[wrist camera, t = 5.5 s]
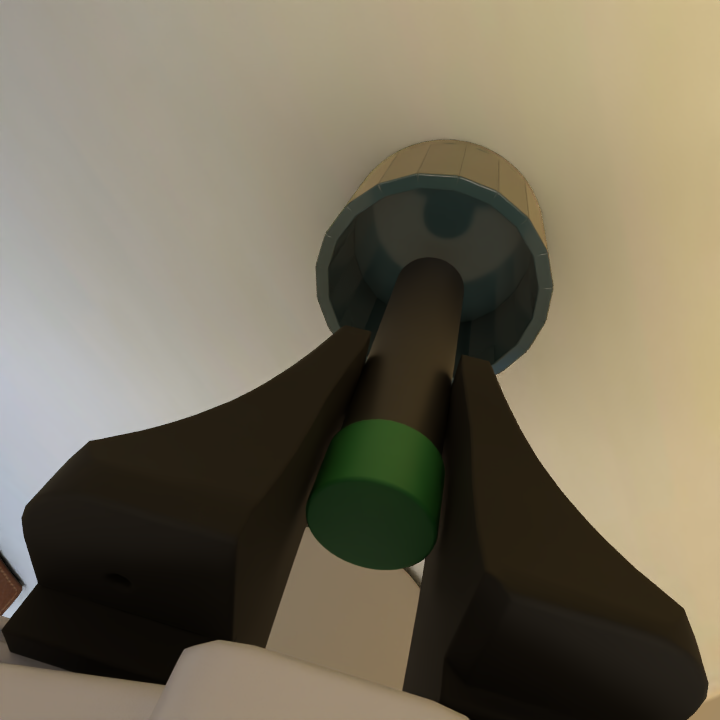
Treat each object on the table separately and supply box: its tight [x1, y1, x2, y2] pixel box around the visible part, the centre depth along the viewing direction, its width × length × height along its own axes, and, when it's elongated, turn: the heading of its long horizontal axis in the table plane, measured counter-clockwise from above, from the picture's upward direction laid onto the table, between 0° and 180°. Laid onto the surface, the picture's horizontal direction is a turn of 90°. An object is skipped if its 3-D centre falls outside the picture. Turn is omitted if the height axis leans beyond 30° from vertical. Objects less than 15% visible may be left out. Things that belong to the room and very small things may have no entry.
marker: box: [306, 257, 464, 570], centre depth 13 cm, size 2×2×9 cm
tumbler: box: [316, 140, 553, 386], centre depth 18 cm, size 7×7×4 cm
